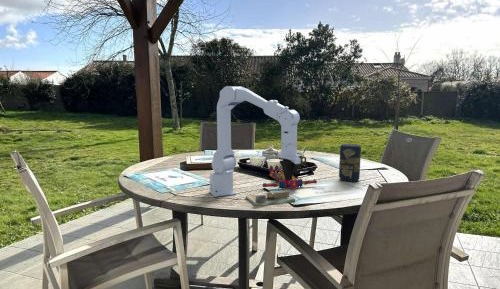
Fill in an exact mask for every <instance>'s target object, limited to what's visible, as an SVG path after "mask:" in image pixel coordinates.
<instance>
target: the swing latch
mask: <svg viewBox="0 0 500 289" xmlns="http://www.w3.org/2000/svg"><path fill="white" fill-rule="evenodd" d="M266 193H267V199H274V198H283V197H289V196H290V191H288V190H282V191H268V192H266Z"/></svg>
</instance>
